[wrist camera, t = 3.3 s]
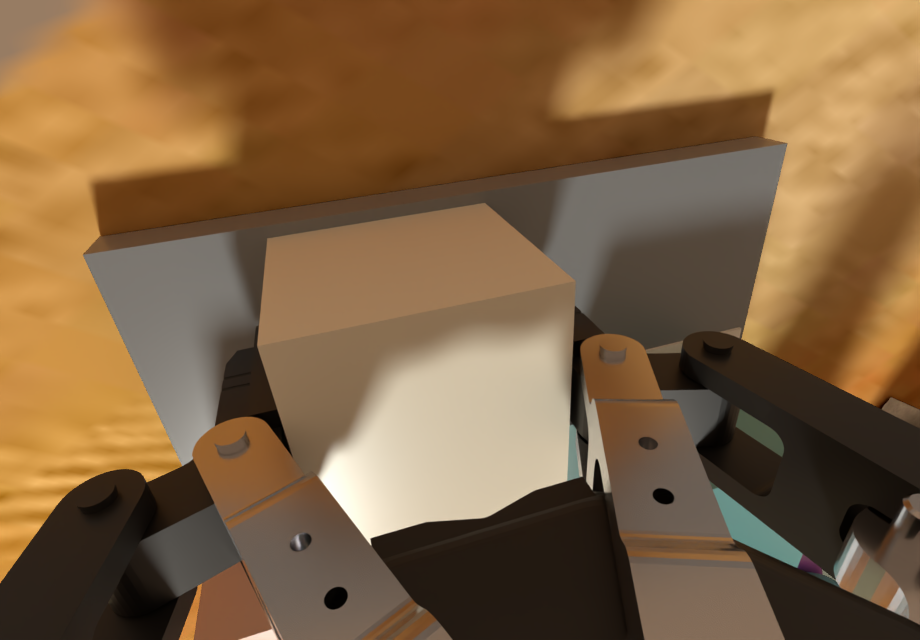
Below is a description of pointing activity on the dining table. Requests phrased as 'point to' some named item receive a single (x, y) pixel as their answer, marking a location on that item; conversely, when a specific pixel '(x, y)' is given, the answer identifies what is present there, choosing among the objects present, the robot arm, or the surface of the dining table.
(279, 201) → the dining table surface
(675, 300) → the baseplate
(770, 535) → the teal base brick
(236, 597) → the pink cube
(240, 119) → the dining table surface
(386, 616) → the robot arm
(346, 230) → the cream brick
